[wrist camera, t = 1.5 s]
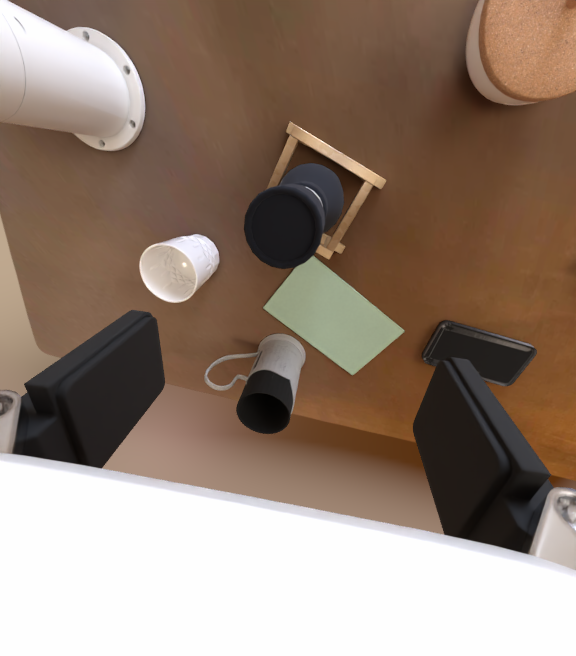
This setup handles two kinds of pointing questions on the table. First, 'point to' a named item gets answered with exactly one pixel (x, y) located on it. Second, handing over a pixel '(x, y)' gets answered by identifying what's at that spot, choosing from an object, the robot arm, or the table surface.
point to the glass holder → (268, 383)
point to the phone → (480, 351)
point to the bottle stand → (342, 160)
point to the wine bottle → (294, 216)
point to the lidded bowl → (522, 50)
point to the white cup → (178, 266)
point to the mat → (332, 316)
